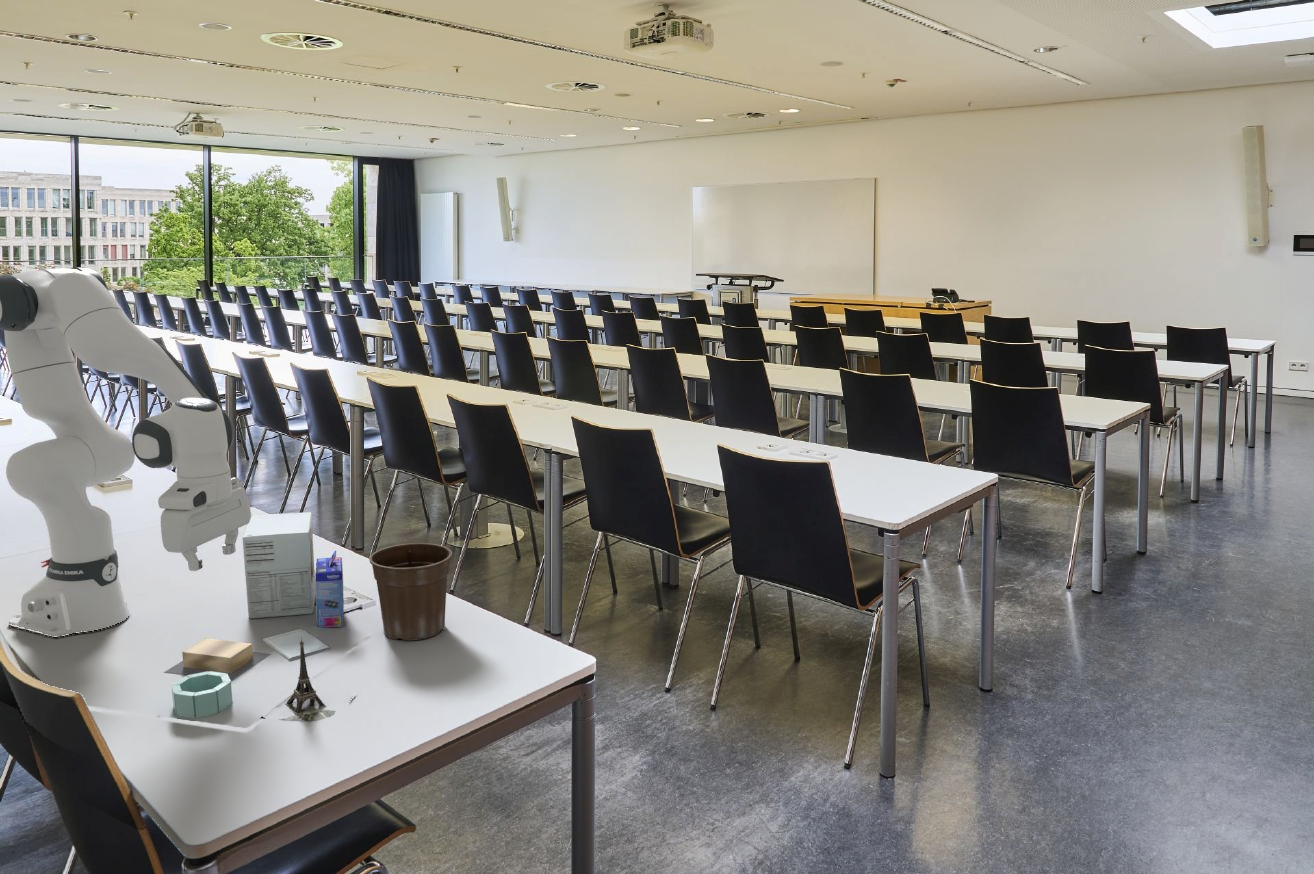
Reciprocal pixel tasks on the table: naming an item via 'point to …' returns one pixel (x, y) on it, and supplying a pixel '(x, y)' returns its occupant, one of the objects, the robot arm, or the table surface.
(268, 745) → the table surface
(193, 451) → the robot arm
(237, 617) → the table surface
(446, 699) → the table surface
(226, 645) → the lid
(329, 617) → the ink cartridge box
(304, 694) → the eiffel tower figurine
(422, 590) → the plant pot
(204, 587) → the table surface
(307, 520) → the supplement box
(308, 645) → the hard drive
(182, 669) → the mat
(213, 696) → the bowl
